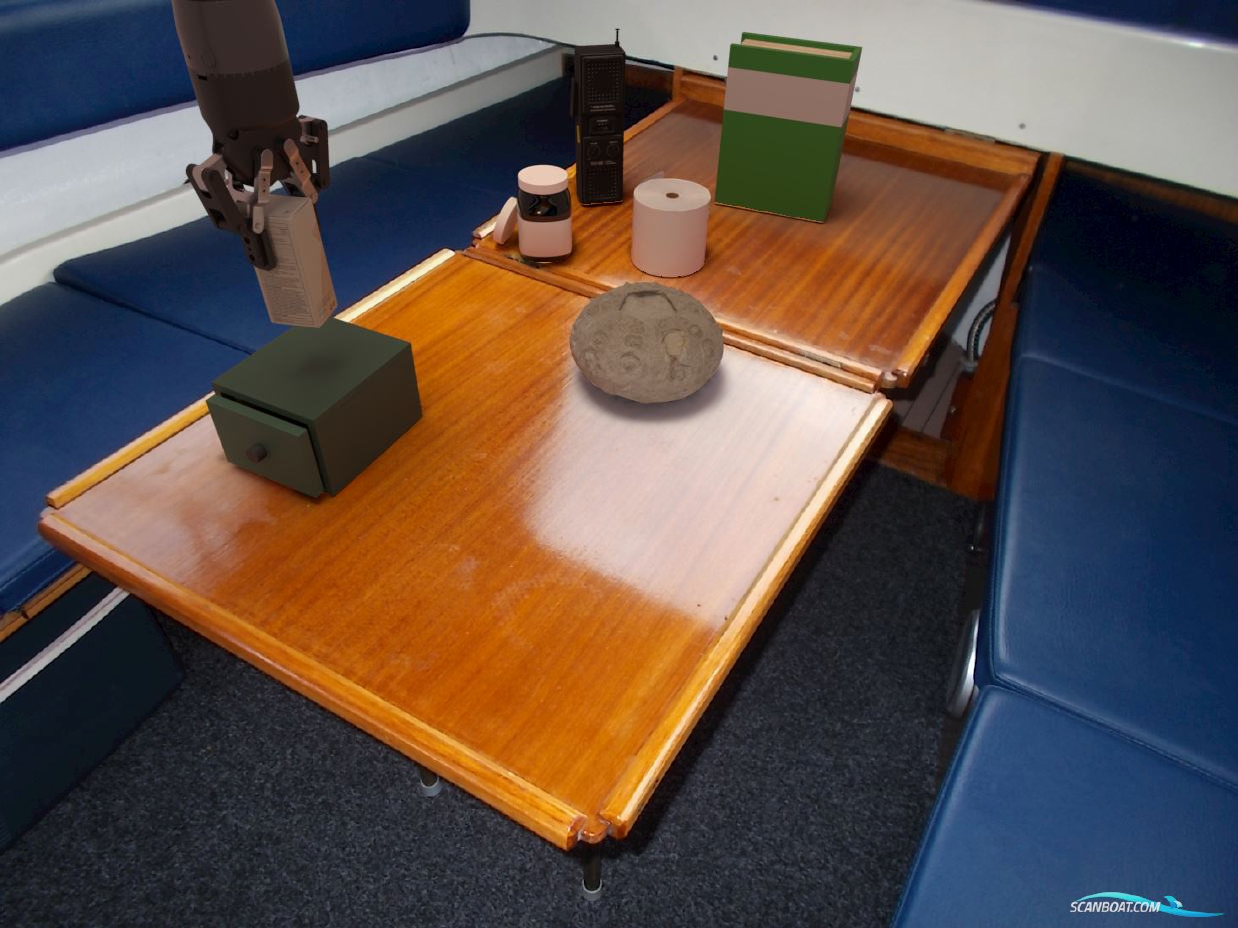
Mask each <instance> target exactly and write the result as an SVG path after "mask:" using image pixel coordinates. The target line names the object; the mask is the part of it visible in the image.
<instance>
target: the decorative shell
mask: <svg viewBox="0 0 1238 928" xmlns="http://www.w3.org/2000/svg"><path fill="white" fill-rule="evenodd" d="M723 334H724V328H723V327H721V326H720V325H718V324H717V319H715V317H714V315H713V313H711V311H709V309H708V308H707V307H705V306H704V305H703V303H701V300H699V299H697V298H696V297H694V296H692V294H690V293H687V292H685V291H684V290H681V289H677V288H675V287H672V286H667V285H665V284H660V283H658V281H656V280H655V281H654V282H650V281H642V282H641V281H640V282H639V281H637V282H634V283H633V282H632V283H630V282H629V281H626V282H624V284H623V285H619V286H616V287H615V288H612V289H609V290H608V291H606V292H602V293H600V294H599V295H597V297H593V296H592V297H590V300H589V303H587V304H586V305H585V306H584V307H583V308H582V309H581V311H580V312H579V314H578V316H577V317H576V319H575V320H574V322H573V324H572V327H571V330H570V335H569V349H570V352H571V356H572V358H573V360H574V363H575V364H576V366H577V367H578V369H579V370H580V371H581V372H582V374H583V375H584V377H585V378H586V379H587V380H588V382H590V383H591V384H592V385H594V386H595V387H597V388H598V389H600V390H601V391H603V392H605V393H606V394H608V395H616V396H618V397H622V398H625V399H628V400H631V401H634V402H637V403H640V404H647V405H648V404H653V403H668V402H671V401H672V402H673V401H678V400H683V399H686V398H687V397H689V396H691V395H692V394H694V393H695V392H697V391H699V390H700V389H701V388H702V387H703V386H704V385H705V384H706V383H707V382H708V381H709V380H710V378H712V377H713V376H714V375H715V373H716V372H717V371H718V368H719V366H720V365H721V362H722V360H723V356H724V352H725V351H724V350H725V349H724V348H725V345H724V343H725V341H724V339H723Z"/></svg>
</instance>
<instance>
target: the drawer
mask: <svg viewBox="0 0 1238 928" xmlns="http://www.w3.org/2000/svg"><path fill="white" fill-rule="evenodd" d="M235 400H236V402H234V401H231V400H229V399H226V398H223V397H221V396H218V395H216V394H215V393H214V394H213V395H211V396H209V397H208V398H207V399H205V404H206V407H207V409H208V412H209V414H210V417H211V420H212V423H213V426H214V428H215V431H216V434H217V436H218V439H219V442H220V445H221V447H222V450H223V453H224V455H225V459H226V461H227V463H229V464H232V465H235V466H237V467H239V468H242V469H244V470H246V471H249V472H251V473H254V474H256V475H259V476H260V477H264V478H266V479H268V480H271V481H273V482H275V483H278V484H280V485H283V486H285V487H287V488H290V489H292V490H295V491H297V492H299V493H302V494H305V495H307V496H309V497H312V498H314V499H317V498H318V497H319V496H321V494H323V492H324V489H323V485H322V481H321V478H320V475H322V474H321V470H320V466H319V463H318V459H317V456H316V452H315V448H314V445H313V441H312V437H311V434H310V430H309V427H308V425H307V424H304V423H301V422H299V421H296V420H294V419H291V418H288V417H286V416H283V415H280V414H278V413H275V412H273V411H270V410H267V409H265V408H262V407H259V406H257V405H254V404H251V403H249V402H246V401H244V400H241V399H238V398H236V397H235Z"/></svg>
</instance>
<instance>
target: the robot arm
mask: <svg viewBox="0 0 1238 928" xmlns="http://www.w3.org/2000/svg"><path fill="white" fill-rule="evenodd" d="M171 5H172V12H173V19H174V24H175V30H176V33H177V36H178V39H179V44H180V47H181V50H182V53H183V56H184V60H185V64H186V67H187V70H188V74H189V77H190V78H189V79H190V81H191V84H192V88H193V91H194V95H195V99H196V101H197V105H198V108H199V112H200V115H201V117H202V120H204V122H205V123H206V125H207V127H208V128H209V130H210V132H211V134H212V144H211V153H212V154H211V155H210V156H209V157H208V158H207V159H205V160H204V161H203V162H201V163H200V164H196V163H189V164H187V165H186V168H185V175H186V177H187V179H188V181H189V183H190V184H191V186H192V188H193V190H194V191H195V193H196V195H197V197H198V199H199V200H200V202H201V205H202V206H203V208H204V210H205V212H206V213H207V215H208V217H209V219H210V221H211V223H212V224H213V226H214V228H215V229H218V230H220V231H221V230H222V231H226V232H230V233H233V234H235V235H236V236H239V237H240V240H241V244H242V246H243V249H244V254H245V257H246V259H247V262H248V263H249V264H250V265H253V267H254V266H255V267H256V268H259V269H262V270H266V271H271V270H272V269H274V268H276V262H275V258H274V254H273V250H272V247H271V243H270V239H269V235H268V232H267V230H265V229H264V213H265V206H266V205H268V204H269V198H270V194H271V187H272V186H274V184H276V183H277V182H279V183H280V185H281V187H282V188H283V189H284V191H285V193H286V194H287V196H294V197H307V198H311V200H312V204H313V208H314V212H315V216H316V220H317V224H318V228H319V232H320V235H321V233H322V226H321V222H320V217H319V213H318V208H317V202H318V200H319V193H320V192H321V191H322V190H324V191H325V190H328V188H329V187H330V186H331V173H330V171H331V170H330V149H329V148H330V147H329V146H330V145H329V125H328V122H327V120H325V119H321V118H317V117H314V116H310V115H309V116H308V115H304V114H300V115H298V114H299V112H300V107H301V105H300V100H299V96H298V92H297V91H298V90H297V87H296V82H295V78H294V74H293V73H294V72H293V69H292V63H291V59H290V54H289V50H288V45H287V41H286V36H285V31H284V26H283V22H282V18H281V15H280V11H279V9H278V7H277V3H276V1H275V0H171ZM297 115H298V116H297ZM313 161H314V162H313ZM313 163H315V172H314V165H313ZM226 171H227V177H226V173H225V172H226ZM245 186H247V187H251V188H253V191H250V190H247V189H246V188H245ZM248 204H249V216H248V215H247V205H248Z"/></svg>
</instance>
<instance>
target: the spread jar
mask: <svg viewBox="0 0 1238 928" xmlns="http://www.w3.org/2000/svg"><path fill="white" fill-rule="evenodd" d="M517 180H518V181H517V182H518V189H517V191H516V197H514V196H511V197H509V198H508V200H507V201H506V202H505V204H504V205H503V207H502V208H501V211H500V212H499V215H498V217H497V219H496V221H495V225H494V228H493V233H492V240H493V242H496V243H498V244H500V245H502V244H503V245H505V244H504V242H505V241H506V240H507V239H508V238H509V239H510V238H511V236H512V234H513V232H514V231H515V229H516V226H517V238H518V248H519V252H520V255H521V256H522V257H523V259H525V260H526V261H529V260H530V261H529V262H532V261H533V262H532V263H535V262H555V263H557V262H556V261H559V262H561V261H560V260H562V261H563V259H564V260H565V259H567V258H569V257H570V256H571V254H572V251H573V250H572V249H573V224H572V223H573V218H572V217H573V207H572V198H571V192H570V189H569V187H568V186H569V174H568V171H566V170H565V169H563V168H562V167H559V166H556V165H551V164H550V165H549V164H538V165H531V166H528V167H525V168H523V169H521V170H520V171H519V172H518V174H517ZM510 235H511V236H510ZM509 239H508V240H509ZM508 240H507V241H508Z"/></svg>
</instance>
